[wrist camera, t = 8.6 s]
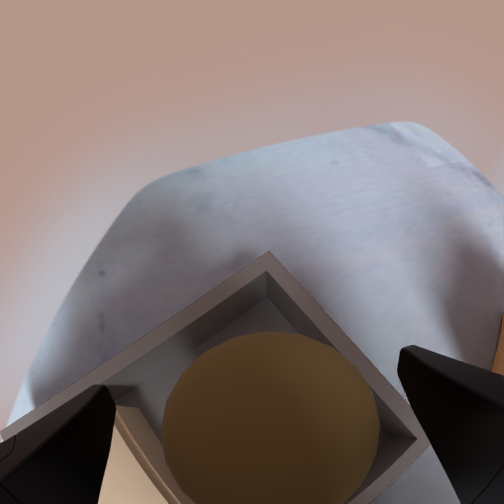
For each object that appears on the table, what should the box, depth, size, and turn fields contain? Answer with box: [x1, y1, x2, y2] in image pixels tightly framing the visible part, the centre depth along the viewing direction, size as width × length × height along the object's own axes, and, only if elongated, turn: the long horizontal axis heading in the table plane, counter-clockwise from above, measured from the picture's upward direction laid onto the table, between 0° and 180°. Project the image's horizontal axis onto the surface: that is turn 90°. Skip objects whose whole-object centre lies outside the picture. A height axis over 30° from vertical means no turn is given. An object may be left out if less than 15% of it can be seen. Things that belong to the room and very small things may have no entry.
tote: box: [0, 251, 431, 504], centre depth 12 cm, size 13×20×4 cm, turn 127°
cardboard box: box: [98, 405, 196, 504], centre depth 10 cm, size 9×7×4 cm
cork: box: [161, 331, 380, 504], centre depth 9 cm, size 6×6×11 cm
